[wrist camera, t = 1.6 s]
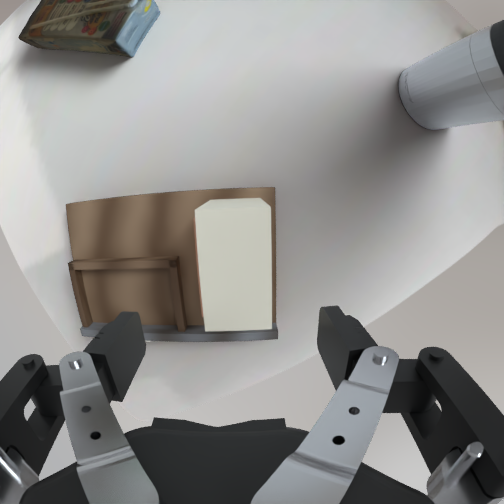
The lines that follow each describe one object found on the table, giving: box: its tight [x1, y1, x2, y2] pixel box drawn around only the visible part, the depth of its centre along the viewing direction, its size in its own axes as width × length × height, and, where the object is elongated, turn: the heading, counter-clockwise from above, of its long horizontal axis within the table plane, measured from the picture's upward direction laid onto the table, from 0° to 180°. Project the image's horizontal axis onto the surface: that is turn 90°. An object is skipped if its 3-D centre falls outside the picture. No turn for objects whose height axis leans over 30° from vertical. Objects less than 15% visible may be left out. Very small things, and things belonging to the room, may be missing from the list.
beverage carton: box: [19, 0, 160, 57], centre depth 20 cm, size 8×19×7 cm, turn 67°
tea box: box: [193, 198, 272, 331], centre depth 24 cm, size 5×9×10 cm, turn 2°
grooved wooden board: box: [66, 187, 278, 342], centre depth 29 cm, size 24×16×4 cm
